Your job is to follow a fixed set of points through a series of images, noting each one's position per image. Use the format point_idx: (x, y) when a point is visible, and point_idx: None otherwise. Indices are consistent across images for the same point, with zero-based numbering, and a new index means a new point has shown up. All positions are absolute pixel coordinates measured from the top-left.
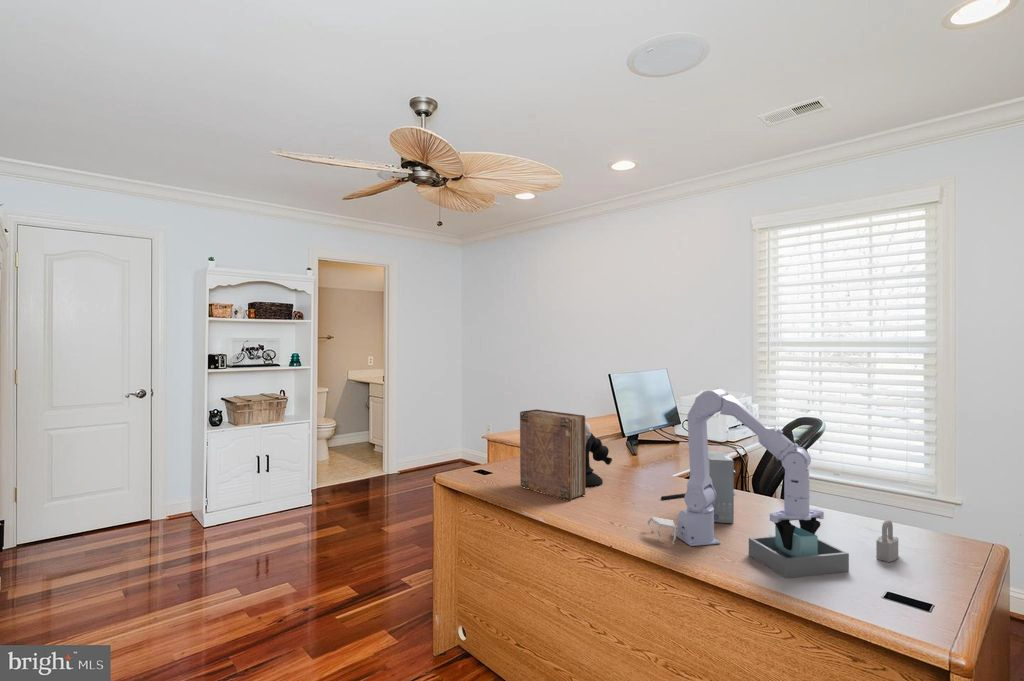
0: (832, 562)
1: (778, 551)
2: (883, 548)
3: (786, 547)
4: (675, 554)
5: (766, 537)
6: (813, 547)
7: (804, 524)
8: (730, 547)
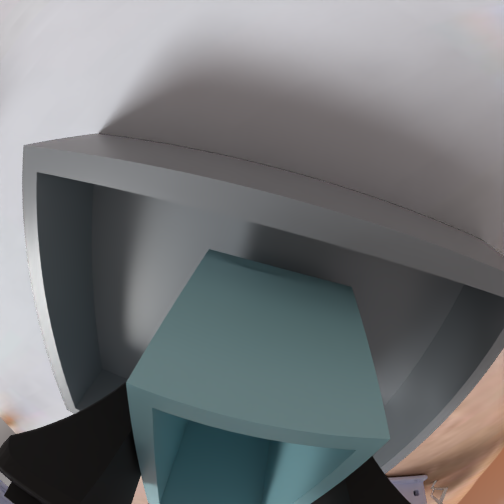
0: (170, 155)
1: None
2: None
3: None
4: (490, 447)
5: None
6: (224, 313)
7: (120, 501)
8: None
